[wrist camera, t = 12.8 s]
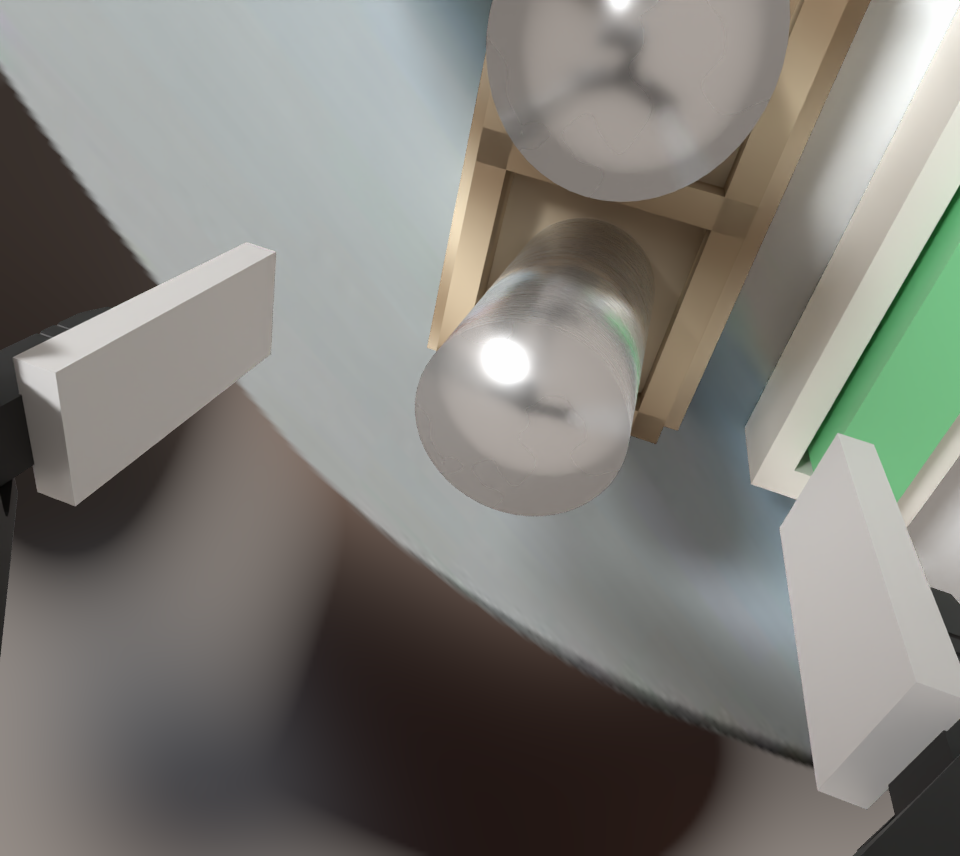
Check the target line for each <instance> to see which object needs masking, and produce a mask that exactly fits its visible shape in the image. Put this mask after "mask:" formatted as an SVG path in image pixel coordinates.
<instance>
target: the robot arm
mask: <svg viewBox="0 0 960 856" xmlns="http://www.w3.org/2000/svg"><path fill="white" fill-rule="evenodd" d="M275 263H276V252H275V251H272V250H269V249H266V248H263V247H260V246H257V245H254V244H251V243H248V242H246V243H244V244H242V245H240V246H238V247H236V248H234V249H232V250H230V251H228V252H226V253H223V254H221V255H219V256H217V257H215V258H213V259H211V260H209V261H207V262H205V263H203V264H201V265H199V266H197V267H195V268H193V269H191V270H189V271H187V272H185V273H183V274H181V275H179V276H177V277H175V278H173V279H171V280H169V281H167V282H165V283H163V284H160V285H158V286H156V287H155V288H152V289H150V290H148V291H146V292H144V293H142V294H140V295H138V296H136V297H134V298H132V299H130V300H128V301H126V302H124V303H122V304H120V305H118V306H116V307H114V308H109V307H105V308H100V309H96V310H91V311H86V312H81V313H78V314H77V315H74V316H72V317H70V318H68V319H66V320H64V321H62V322H59V323H58V326H55V325H53V326H51V327H49V328H47V329H45V330H43V331H41V333H40V334H34V335H32V336H30V337H28V338H26V339H24V340H22V341H19V342H17V343H15V344H13V345H11V346H9V347H7V348H5V349H3V350H1V351H0V655H1V645H2V636H3V627H4V616H5V607H6V598H7V589H8V579H9V570H10V561H11V550H12V542H13V532H14V523H15V513H16V504H17V495H18V492H17V487H16V482H15V477H16V476H18V475H19V474H21V473H22V472H24V471H25V470H26V469H28V468H30V467H31V466H33V470H34V475H35V481H36V486H37V491H38V492H39V493H42V494H45V495H47V496H50V497H52V498H55V499H58V500H60V501H63V502H66V503H68V504H71V505H73V506H76V505H77V504H79V503H80V502H81V501H82V500H84V499H85V498H86V497H88V496H89V495H90V494H91V493H93V492H94V491H95V490H97V489H98V488H99V487H101V486H102V485H103V484H104V483H106V482H107V481H108V480H109V479H111V478H112V477H113V476H115V475H116V474H117V473H119V472H120V471H121V470H122V469H124V468H125V467H126V466H127V465H129V464H130V463H131V462H133V461H134V460H135V459H136V458H138V457H139V456H140V455H142V454H143V453H144V452H146V451H147V450H148V449H149V448H151V447H152V446H153V445H154V444H156V443H157V442H158V441H159V440H161V439H162V438H164V437H165V436H166V435H167V434H169V433H170V432H171V431H172V430H174V429H175V428H176V427H178V426H179V425H180V424H181V423H183V422H184V421H185V420H187V419H188V418H189V417H191V416H192V415H193V414H194V413H196V412H197V411H198V410H200V409H201V408H202V407H203V406H205V405H206V404H207V403H209V402H210V401H211V400H212V399H214V398H215V397H216V396H218V395H219V394H220V393H221V392H223V391H224V390H225V389H227V388H228V387H229V386H230V385H232V384H233V383H234V382H236V381H237V380H238V379H240V378H241V377H242V376H243V375H245V374H246V373H247V372H249V371H250V370H251V369H252V368H254V367H255V366H256V365H258V364H259V363H260V362H261V361H263V360H264V359H265V358H267V357H268V356H269V355H270V354H271V342H272V322H273V302H274V283H275ZM780 535H781V542H782V549H783V556H784V563H785V570H786V577H787V584H788V591H789V598H790V605H791V612H792V618H793V625H794V632H795V639H796V646H797V653H798V660H799V667H800V674H801V681H802V688H803V695H804V702H805V709H806V716H807V723H808V730H809V737H810V744H811V751H812V758H813V765H814V771H815V778H816V785H817V790H818V791H819V792H822V793H825V794H827V795H830V796H833V797H836V798H838V799H840V800H843V801H846V802H848V803H851V804H853V805H856V806H859V807H861V808H864V809H866V810H867V809H868V808H869V807H870V806H871V805H872V804H873V803H874V802H875V801H877V799H878V798H879V797H880V796H882V795H883V794H884V793H885V792H886V791H887V790H888V789H889V791H890V796H891V800H892V804H893V808H894V812H895V815H894V816H893V817H892V818H891V819H890V820H889V821H888V822H887V823H886V824H885V825H883V826H882V827H881V828H880V829H879V830H878V831H877V832H876V833H875V834H874V835H873V836H872V837H871V838H870V839H868V840H867V841H866V842H865V843H864V844H863V845H862V846H861V847H860V848H859V849H858V850H857V852H856V853H855V854H854V855H853V856H960V604H959V603H958V602H957V601H956V599H955V598H954V597H953V596H952V595H951V594H949V593H946V592H943V591H940V590H937V589H934V588H931V587H930V586H929V584H928V581H927V578H926V576H925V573H924V571H923V568H922V566H921V563H920V561H919V558H918V555H917V553H916V550H915V548H914V545H913V543H912V540H911V538H910V535H909V533H908V530H907V527H906V525H905V522H904V520H903V517H902V515H901V512H900V510H899V507H898V505H897V502H896V499H895V497H894V494H893V492H892V489H891V487H890V484H889V482H888V479H887V476H886V474H885V471H884V469H883V466H882V464H881V461H880V459H879V456H878V454H877V451H876V448H875V446H874V444H871V443H868V442H865V441H861V440H858V439H855V438H852V437H849V436H846V435H843V434H840V433H837V435H836V436H835V438H834V440H833V441H832V443H831V444H830V446H829V448H828V449H827V451H826V453H825V454H824V456H823V458H822V459H821V461H820V462H819V464H818V466H817V467H816V469H815V471H814V472H813V474H812V476H811V477H810V479H809V480H808V482H807V484H806V485H805V487H804V489H803V490H802V492H801V494H800V495H799V497H798V498H797V500H796V502H795V503H794V505H793V507H792V508H791V510H790V511H789V513H788V515H787V516H786V518H785V520H784V521H783V523H782V525H781V526H780Z"/></svg>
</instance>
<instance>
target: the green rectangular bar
mask: <svg viewBox="0 0 960 856" xmlns="http://www.w3.org/2000/svg"><path fill="white" fill-rule="evenodd" d="M959 414H960V185H959V187H958V189H957V190H956V192H955V194H954V195H953V197H952V199H951V201H950V202H949V204H948V206H947V208H946V209H945V211H944V213H943V214H942V216H941V218H940V220H939V221H938V223H937V225H936V227H935V228H934V230H933V232H932V233H931V235H930V237H929V239H928V240H927V242H926V244H925V246H924V247H923V249H922V251H921V252H920V254H919V256H918V258H917V259H916V261H915V263H914V265H913V266H912V268H911V270H910V271H909V273H908V275H907V277H906V278H905V280H904V282H903V284H902V285H901V287H900V289H899V290H898V292H897V294H896V296H895V297H894V299H893V301H892V303H891V304H890V306H889V308H888V309H887V311H886V313H885V315H884V316H883V318H882V320H881V322H880V323H879V325H878V327H877V328H876V330H875V332H874V334H873V335H872V337H871V339H870V341H869V342H868V344H867V346H866V347H865V349H864V351H863V353H862V354H861V356H860V358H859V360H858V361H857V363H856V365H855V366H854V368H853V370H852V372H851V373H850V375H849V377H848V379H847V380H846V382H845V384H844V385H843V387H842V389H841V391H840V392H839V394H838V396H837V398H836V399H835V401H834V403H833V404H832V406H831V408H830V410H829V411H828V413H827V415H826V417H825V418H824V420H823V422H822V423H821V425H820V427H819V429H818V430H817V432H816V434H815V436H814V437H813V439H812V441H811V442H810V444H809V446H808V448H807V450H808V454H809V457H810V461H811V465H812V469H813V472H814V471H815V469H816V467H817V466H818V464H819V462H820V461H821V459H822V458H823V456H824V454H825V453H826V451H827V449H828V448H829V446H830V444H831V443H832V441H833V440H834V438H835V436H836V435H837V433H840V434H843V435H846V436H849V437H852V438H855V439H858V440H861V441H865V442H868V443H871V444H874V446H875V448H876V451H877V454H878V456H879V459H880V461H881V464H882V466H883V469H884V471H885V474H886V476H887V479H888V482H889V484H890V487H891V489H892V492H893V494H894V497H895V499H896V502H898V501H899V499H900V498H901V497H902V495H903V494H904V492H905V491H906V489H907V488H908V487H909V485H910V484H911V482H912V481H913V479H914V478H915V477H916V475H917V474H918V472H919V471H920V469H921V468H922V467H923V465H924V464H925V462H926V461H927V459H928V458H929V457H930V455H931V454H932V452H933V451H934V450H935V448H936V447H937V445H938V444H939V442H940V441H941V440H942V438H943V437H944V435H945V434H946V432H947V431H948V430H949V428H950V427H951V425H952V424H953V422H954V421H955V420H956V418H957V417H958V415H959Z"/></svg>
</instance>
